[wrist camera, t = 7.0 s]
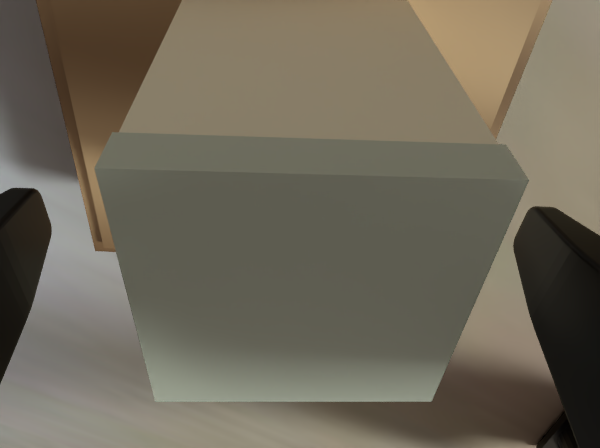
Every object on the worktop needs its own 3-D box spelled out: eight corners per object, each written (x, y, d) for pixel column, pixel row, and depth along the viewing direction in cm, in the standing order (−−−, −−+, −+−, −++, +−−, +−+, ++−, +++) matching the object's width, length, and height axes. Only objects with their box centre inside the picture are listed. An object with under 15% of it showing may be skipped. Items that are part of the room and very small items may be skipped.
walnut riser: (419, 198, 21) (445, 272, 17) (124, 180, 19) (93, 256, 16) (536, -168, 13) (623, -158, 10) (56, -230, 12) (-28, -241, 8)
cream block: (375, 179, 15) (431, 400, 9) (201, 175, 14) (154, 402, 9) (410, -2, 11) (529, 179, 6) (184, -14, 11) (94, 168, 6)
